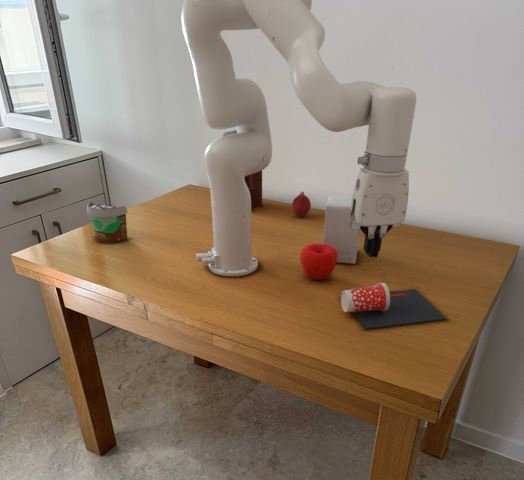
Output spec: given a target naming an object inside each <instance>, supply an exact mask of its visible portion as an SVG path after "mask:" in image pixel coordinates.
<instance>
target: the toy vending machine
mask: <svg viewBox="0 0 524 480" xmlns="http://www.w3.org/2000/svg"><path fill="white" fill-rule="evenodd" d="M235 133H237V129H235V130H229V131H225V132H223V134H222V136H226V135H231V134H235ZM244 180H245V183H246V185H247V187H248V189H249V192H250V196H251V211H252V210H254V209H258V208H260V207H262V206H263V170H261V171H259V172H256V173H253V174H250V175H247V176H245V177H244Z"/></svg>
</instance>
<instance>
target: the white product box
mask: <svg viewBox="0 0 524 480" xmlns="http://www.w3.org/2000/svg"><path fill="white" fill-rule="evenodd" d="M352 197H353V196H343V195H341V196H340V195H329V196H328V198H327V202H326V205H325V218H324V230H323V242H322V244H324V245H329V246H332V247H333V248H335V249H336V251H337V261H336V263H341V264H352V265H356V263H357V255H358V251H359V250H358V249H359V248H358V247H359V242H360V235H361V230H355V229H352V228H351V227H350V226H349V223H350V221H351V216H350V210H351V203H352Z"/></svg>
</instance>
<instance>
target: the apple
mask: <svg viewBox="0 0 524 480" xmlns="http://www.w3.org/2000/svg"><path fill="white" fill-rule="evenodd" d="M299 254H300V255H299V261H300V265H301V268H302V270H303V272H304V274H305V276H306V278H309V279H311V280H315V281H322V280H326V279H328V278H329V277H330V276H331V275H332V273H333V271H334V270H335V267H336V266H337V262H336V261H337V251H336V249H335V248H333V247H332V246H329V245H324V244H323V243H312V244H310V243H309V244H308V245H306V246H304V247H303V248H302V249H301V251H300V253H299Z"/></svg>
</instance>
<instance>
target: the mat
mask: <svg viewBox="0 0 524 480" xmlns="http://www.w3.org/2000/svg"><path fill="white" fill-rule="evenodd" d="M389 293H390V295H398V294H406V296H399V297H390V305H389V308H388V310H387V311H380V310H379V311H359V312H352V314H353V315H354V317H355V318H356V319H357V321H358V322H359V323H360V324H361V326H362V327H363V328H364V329H365V330H367V331H369V330H375V329H383V328H392V327H401V326H409V325H416V324H424V323H431V322H441V321H445V320H446V318H445V317H444V316H443V314H441V313H440V312H439V311H438V310H437V309H436V308H435V307H434V306H433V305H431V303H430V302H429V301H427V299H425V298H424V297H423V296H422V295H421V294H420V293H419V292H418V291H417V290H416V289H406V290H399V291H398V290H397V291H389Z"/></svg>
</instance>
